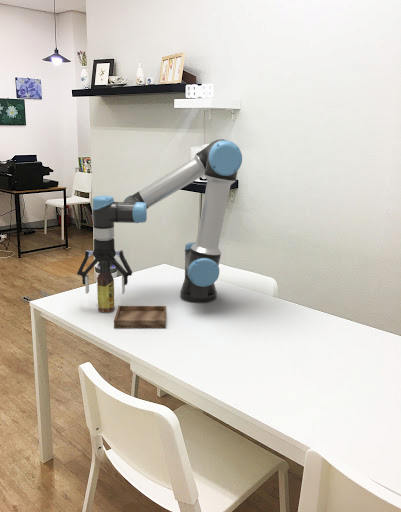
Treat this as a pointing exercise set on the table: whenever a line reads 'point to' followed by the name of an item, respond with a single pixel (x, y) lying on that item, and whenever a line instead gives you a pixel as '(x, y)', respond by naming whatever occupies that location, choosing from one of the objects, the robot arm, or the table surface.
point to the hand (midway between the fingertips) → (105, 292)
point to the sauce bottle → (105, 288)
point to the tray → (140, 317)
